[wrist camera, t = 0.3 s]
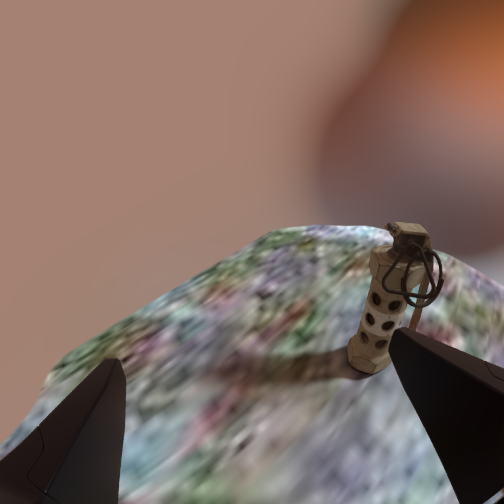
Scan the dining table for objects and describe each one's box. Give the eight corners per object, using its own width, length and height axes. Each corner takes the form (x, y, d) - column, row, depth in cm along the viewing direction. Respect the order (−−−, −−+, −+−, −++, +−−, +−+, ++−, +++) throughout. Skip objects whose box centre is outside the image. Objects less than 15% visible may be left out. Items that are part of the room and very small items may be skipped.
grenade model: (352, 391, 25) (399, 249, 18) (344, 342, 31) (373, 212, 24) (411, 388, 24) (472, 254, 17) (396, 342, 30) (435, 219, 23)
